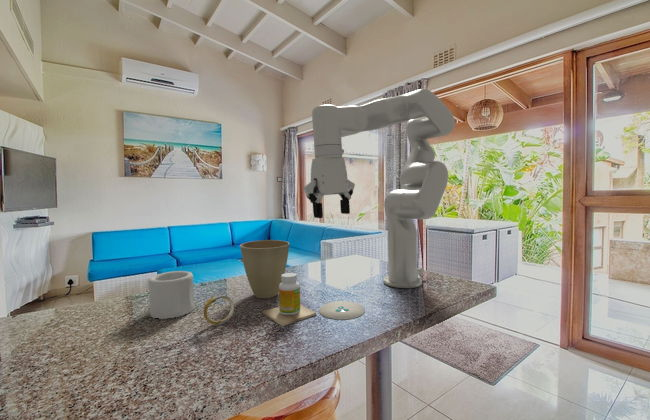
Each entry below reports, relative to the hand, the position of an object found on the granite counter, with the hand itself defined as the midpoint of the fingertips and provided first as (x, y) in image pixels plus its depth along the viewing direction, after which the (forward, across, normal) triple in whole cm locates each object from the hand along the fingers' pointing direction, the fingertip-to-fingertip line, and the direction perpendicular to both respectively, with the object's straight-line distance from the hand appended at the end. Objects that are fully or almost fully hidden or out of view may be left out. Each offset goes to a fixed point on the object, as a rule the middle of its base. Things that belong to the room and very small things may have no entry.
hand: (332, 215), depth 84 cm
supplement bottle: (+24, +15, -2) cm, 28 cm away
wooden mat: (+24, +15, -2) cm, 28 cm away
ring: (+24, +31, -8) cm, 40 cm away
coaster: (+25, +3, +5) cm, 25 cm away
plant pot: (+24, +12, -20) cm, 34 cm away
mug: (+23, +38, -26) cm, 51 cm away
